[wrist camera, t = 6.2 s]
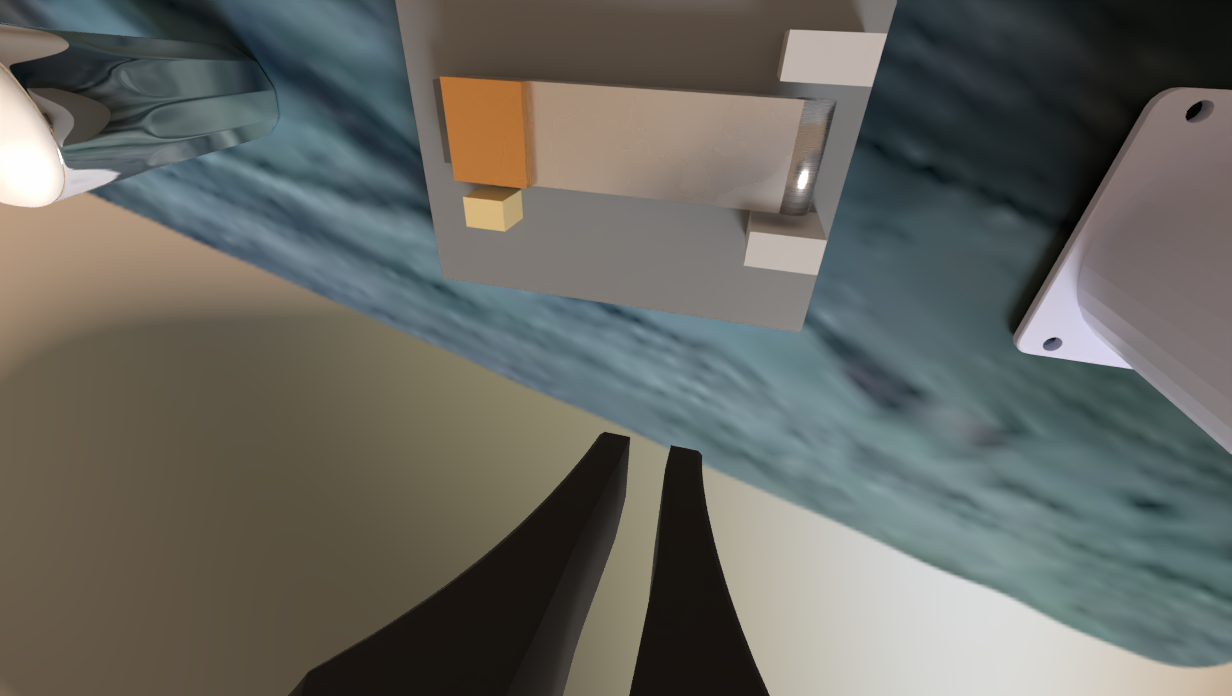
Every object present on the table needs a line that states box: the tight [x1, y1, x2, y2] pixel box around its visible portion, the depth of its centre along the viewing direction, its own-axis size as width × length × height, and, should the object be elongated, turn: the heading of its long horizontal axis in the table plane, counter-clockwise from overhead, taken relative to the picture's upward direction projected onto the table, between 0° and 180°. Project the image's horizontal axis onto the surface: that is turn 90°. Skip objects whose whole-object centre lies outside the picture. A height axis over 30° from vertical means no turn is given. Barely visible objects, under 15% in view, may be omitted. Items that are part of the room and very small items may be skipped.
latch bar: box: [440, 74, 837, 216], centre depth 14 cm, size 10×3×1 cm, turn 90°
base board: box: [395, 0, 897, 332], centre depth 15 cm, size 14×12×4 cm
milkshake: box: [0, 23, 279, 207], centre depth 15 cm, size 5×5×10 cm
